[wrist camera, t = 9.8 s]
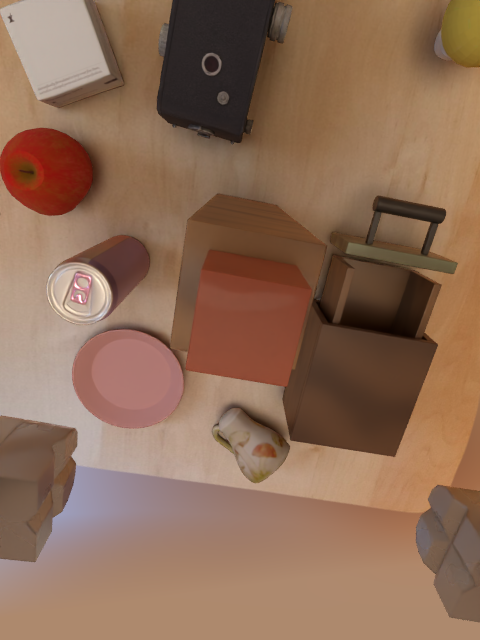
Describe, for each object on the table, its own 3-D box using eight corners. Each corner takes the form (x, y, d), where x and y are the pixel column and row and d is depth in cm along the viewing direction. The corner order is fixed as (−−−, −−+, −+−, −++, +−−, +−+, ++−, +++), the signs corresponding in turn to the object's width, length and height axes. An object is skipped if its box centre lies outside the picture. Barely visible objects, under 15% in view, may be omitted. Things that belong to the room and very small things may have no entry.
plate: (134, 302, 50) (130, 307, 48) (207, 382, 54) (206, 389, 52) (55, 366, 53) (48, 373, 51) (130, 437, 57) (126, 446, 55)
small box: (58, 110, 43) (35, 102, 38) (24, 26, 40) (-5, 6, 36) (126, 86, 42) (111, 75, 37) (96, -1, 40) (76, -25, 35)
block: (208, 249, 20) (200, 269, 16) (297, 265, 20) (312, 289, 16) (195, 331, 21) (184, 370, 17) (277, 346, 22) (287, 387, 18)
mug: (237, 386, 54) (276, 438, 47) (268, 415, 61) (307, 465, 54) (196, 424, 54) (229, 482, 47) (232, 449, 61) (266, 503, 53)
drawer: (343, 189, 45) (362, 191, 38) (440, 208, 46) (476, 214, 39) (304, 338, 51) (314, 363, 44) (390, 353, 52) (414, 380, 45)
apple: (91, 222, 47) (50, 235, 37) (21, 190, 46) (-41, 195, 36) (114, 153, 44) (77, 146, 34) (41, 117, 43) (-20, 100, 33)
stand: (216, 193, 46) (187, 218, 19) (277, 205, 46) (327, 245, 20) (207, 253, 48) (169, 348, 22) (264, 264, 49) (295, 370, 22)
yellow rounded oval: (411, 13, 40) (464, -37, 31) (480, -1, 40) (555, -56, 30) (413, 88, 42) (463, 63, 33) (478, 76, 42) (547, 47, 33)
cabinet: (308, 298, 50) (322, 323, 42) (405, 315, 51) (438, 344, 42) (282, 399, 55) (290, 440, 46) (371, 413, 56) (395, 457, 47)
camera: (255, 148, 45) (294, -17, 39) (258, 154, 35) (310, -68, 29) (162, 124, 44) (185, -49, 38) (136, 123, 34) (162, -113, 28)
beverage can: (156, 244, 48) (121, 273, 34) (143, 290, 50) (105, 336, 36) (107, 227, 47) (50, 249, 33) (95, 274, 49) (37, 314, 35)
